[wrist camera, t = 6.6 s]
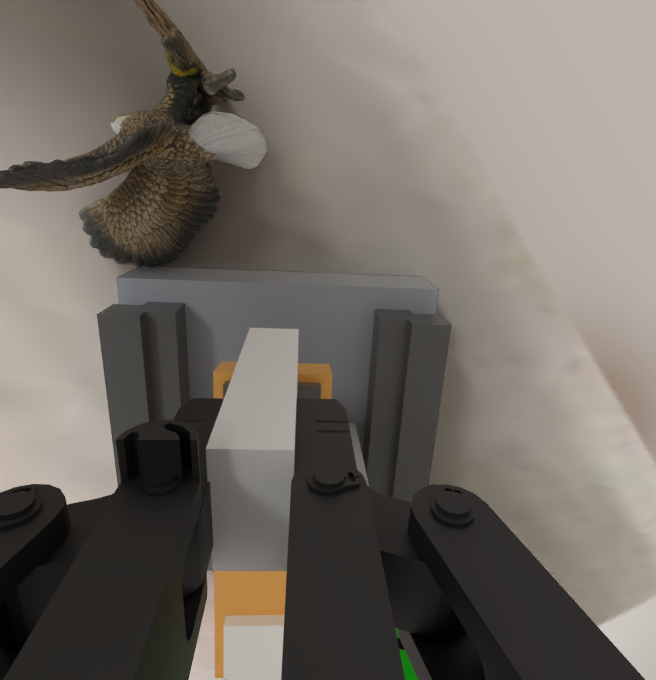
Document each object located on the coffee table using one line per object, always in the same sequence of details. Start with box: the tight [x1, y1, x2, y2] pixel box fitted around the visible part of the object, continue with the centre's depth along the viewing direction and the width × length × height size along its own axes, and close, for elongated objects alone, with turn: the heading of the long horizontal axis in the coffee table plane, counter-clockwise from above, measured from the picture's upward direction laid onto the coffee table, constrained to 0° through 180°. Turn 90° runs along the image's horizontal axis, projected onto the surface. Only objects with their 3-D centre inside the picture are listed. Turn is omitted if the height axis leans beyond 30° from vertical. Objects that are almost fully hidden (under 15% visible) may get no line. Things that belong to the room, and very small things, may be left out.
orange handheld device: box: [213, 361, 332, 680], centre depth 17 cm, size 12×5×2 cm, turn 177°
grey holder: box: [97, 266, 451, 570], centre depth 20 cm, size 16×14×10 cm
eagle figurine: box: [0, 0, 268, 267], centre depth 18 cm, size 8×8×10 cm
